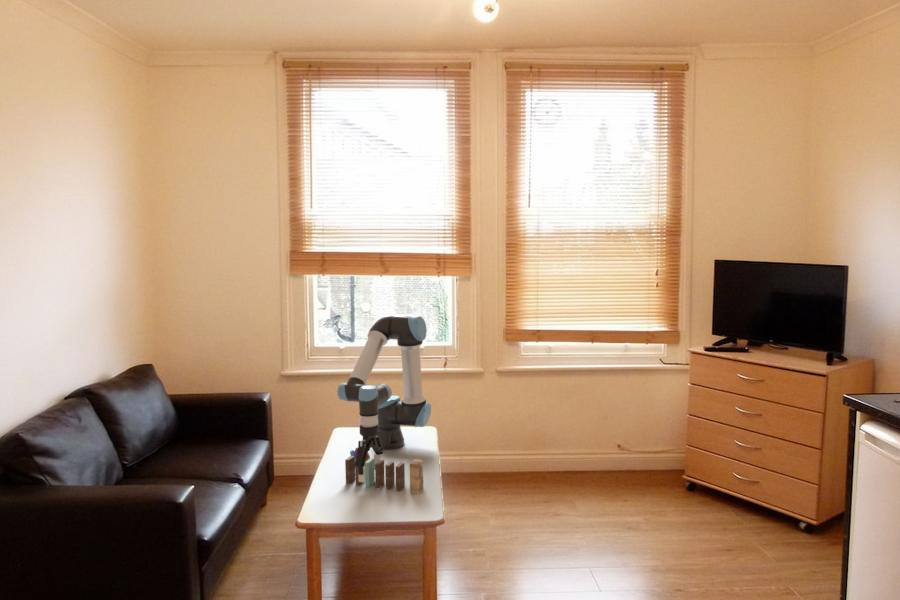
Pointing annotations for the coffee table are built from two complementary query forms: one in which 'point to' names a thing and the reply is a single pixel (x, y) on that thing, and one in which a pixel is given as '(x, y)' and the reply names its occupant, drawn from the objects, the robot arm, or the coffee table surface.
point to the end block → (416, 476)
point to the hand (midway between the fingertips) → (369, 475)
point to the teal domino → (370, 472)
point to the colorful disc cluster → (354, 453)
